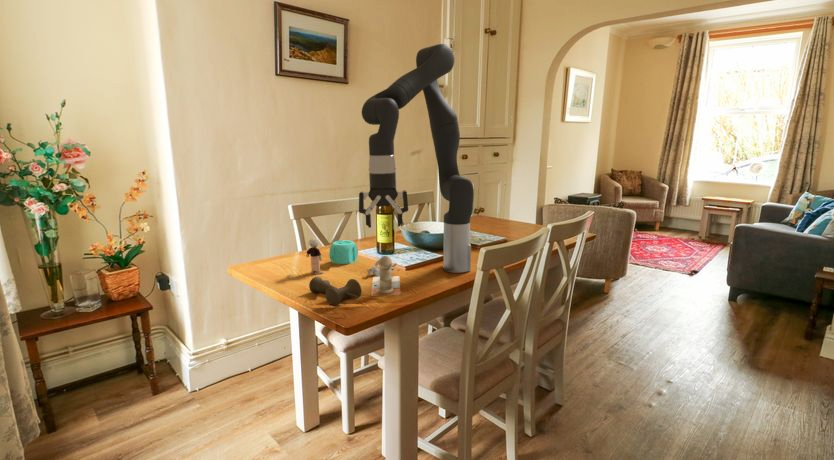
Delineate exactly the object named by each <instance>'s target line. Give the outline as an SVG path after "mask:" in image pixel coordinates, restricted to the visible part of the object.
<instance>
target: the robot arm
mask: <svg viewBox="0 0 834 460" xmlns="http://www.w3.org/2000/svg"><path fill="white" fill-rule="evenodd" d="M415 63H416V64H415V65H416V67H415V68H414V69H412V70H409V71H408V72H406V73H405V74H403V75H402V76H400V77H399V78H397V79H396V80H395V81H394V82H393V83H391V84H390V85H389V86H388V87H387V88H386V89H383V90H382V91H379V92H377V93H376V94H374V95H372V96H371V97H369V98H368V99H367V100H366V101H364V103H363V106H362V107H361V117H362V118H363V120H364V122H365V123H367V124H369V125H372V126H374V125H375V126H377V125H379V126H378V130H377V132H376V133H373V134H370V136H369V138H368V153H369V155H368V157H369V160H368V173H369V174H368V177H369V179H368V180H369V191H367V192H366V191H360V192H359V194H358V213H359V214H363V215H365V225H366V226H367V227H368V228H371V227H372V217H371V215H372V214H371V212H372V211H373V210H374V208H375V207H378V208H379V207H380V208H381V207H390V206H392V207H393V209H395V211H396V212H397V217H396V219H397V227H401V225H403V214H404V213H407V212H408V211H409V201H408V192H407V190H402V191H401V190H400V191H398V190H397V179H396V178H397V177H396V175H397V174H396V158H395V145H394V144H395V136H396V132H397V128H398V123H399V118H400V109H403V108H404V107H406V106H407V105H408V104H409V103H410V102H411V101H412V100H413V99H414V98H415V97H416V96H418V94H420V93H421V92H423V95H424V99H425V104H426V109H427V114H428V119H429V126H430V131H431V138H432V141H433V146H434V152H435V157H436V163H437V171H438V182H439V183H438V184H439V190H440V194H441V197H443V199H445V200H446V201H448V202H449V203H448V210H447V212H445V213H444V215H443V270H444V271H445V272H448V273H453V274H454V273H455V274H458V273H459V274H462V273H467V272H471V270H472V269H471V267H472V245H471V239H470V238H471V217H472V214H473V211H474V209H473V208H474V195H475V193H474V185H473V182H472V181H471V180H470V179H469V178H468V177H465V176H461V175H460V172H459V171H460V170H459V167H458V158H457V157H458V152H459V147H460V146H459V145H460V139H461V136H460V135H461V134H460V127H459V121H458V116H457V114H456V112H455V110H454V109H453V107H452V106H451V104H450V103H449V102H448V101H447V100H446V98H445V97H444V96H443V94H442V91H441V89H440V86H439V81H438V79H439V78H442V77H444V76H445V75H448V73H450V72H451V71H452V70H453V68H454V66H455V54H454V52H453V49H452V48H451V47H450V46H449V45H448V44H445V43H440V44H439V43H438V44H434V45H431V46H428V47H424V48H421V49H420V50H419V51H418V52H417V53H416V57H415ZM398 196H399V198H400V199H401V200H402V203H403V206H402V207H401V206H399V204H398V203H397V201H396V199H397V197H398ZM367 197H369V199H370V200H371V202H370V204H369V206H368V207H367V208H364V204H365V203H364V202H365V200H366V199H367Z"/></svg>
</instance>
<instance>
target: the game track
mask: <svg viewBox="0 0 834 460" xmlns="http://www.w3.org/2000/svg"><path fill="white" fill-rule="evenodd" d="M371 284H372V285H371V294H370V296H371V297H374V296H375V297H376V296H378V297H379V296H385V295H384V294H380V293H379V287H380V276H373V277H372V283H371ZM392 287H393V293H391V294H387V295H386V296H401V280H400V275H393V276H392Z"/></svg>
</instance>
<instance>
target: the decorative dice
mask: <svg viewBox="0 0 834 460" xmlns="http://www.w3.org/2000/svg"><path fill="white" fill-rule="evenodd" d="M328 256H329V259H330V261H331V263H332V264H338V265H340V264H341V265H347V264H353V263H356V262H357V260H358V256H359V249H358V246H357V244H356V243H355V242H354V241H353V240H348V239H345V240H344V239H343V240H336V241H333V242H332V244H331V245H330V247H329V254H328Z"/></svg>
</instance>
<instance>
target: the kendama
mask: <svg viewBox="0 0 834 460" xmlns="http://www.w3.org/2000/svg"><path fill="white" fill-rule="evenodd" d="M308 287H309V291H310V292H311V293H314V294H315V293H319V294H325V299H326V301H327V303H329V305H330V306H331V307H333V308H335V307H337V306H339V304H341V302H342V300H345V299H348V298H353V299H359V297H361V295H362V286H361V284H360V282H359V281H358V280H357V279H354V278H350V279H348V281H347V282H346V284H345V285H344V286H342V287H339V288H338V287H335V286H334V285H333V284H331V283H330V281H329V280H327V279H322V277H320V276H315V277H313V278H311V280H309V286H308Z"/></svg>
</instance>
